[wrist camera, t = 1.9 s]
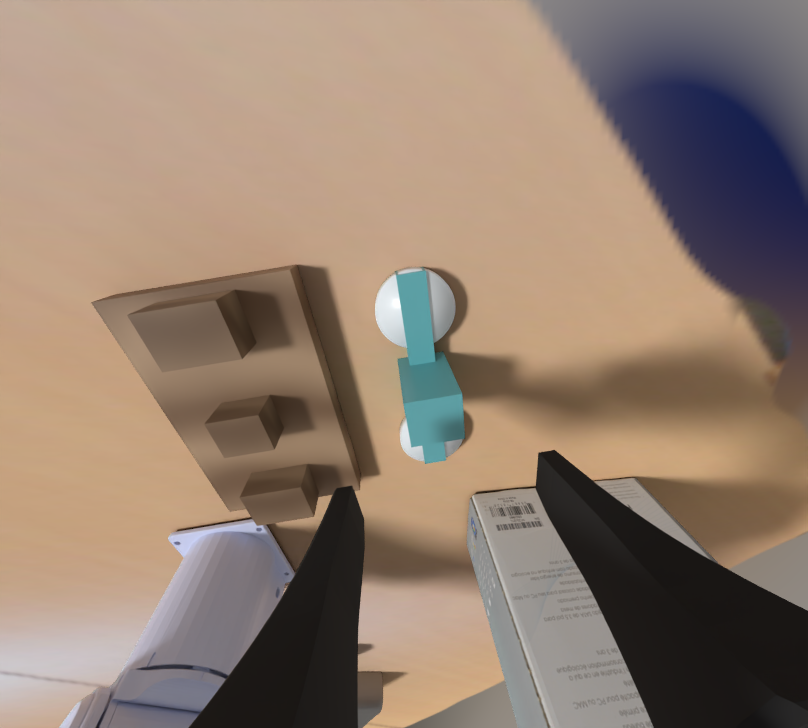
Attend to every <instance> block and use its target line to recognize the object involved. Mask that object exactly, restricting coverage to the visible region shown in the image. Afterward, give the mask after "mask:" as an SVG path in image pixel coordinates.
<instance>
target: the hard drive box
mask: <svg viewBox="0 0 808 728" xmlns="http://www.w3.org/2000/svg"><path fill="white" fill-rule="evenodd" d="M594 482H595V483H596V484H598V485H599V486H600V487H602V488H603V489H604V490H606V491H607V492H608V493H610V494H611V495H612V496H613V497H615V498H616V499H617V500H619V501H620V502H622V503H623V504H624V505H626V506H627V507H628V508H630V509H631V510H633V511H634V512H636V513H637V514H638V515H640V516H641V517H643V518H644V519H646V520H647V521H649V522H650V523H652V524H653V525H655V526H656V527H658V528H659V529H661V530H662V531H664V532H665V533H667V534H668V535H670V536H672V537H673V538H675V539H676V540H678V541H680V542H681V543H683V544H684V545H686V546H688V547H689V548H691V549H693V550H694V551H696V552H698V553H700V554H701V555H703V556H705V557H707V558H708V559H710V560H712V561H714V562H716V563H717V564H718V562H717V561H716V560H715V559H714V558H713V557H712V556H711V555H710V554H709V553H708V552H707V551H706V550H705V549H704V548H703V547H702V546H701V545H700V544H699V543H698V542H697V541H696V540H695V539H694V538H693V537H692V536H691V535H690V534H689V533H688V532H687V530H686V529H685V528H684V527H683V526H682V525H681V524H680V523H679V522H678V521H677V520H676V519H675V518H674V517H673V516H672V515H671V514H670V513H669V512H668V511H667V510H666V509H665V508H664V507H663V506H662V505H661V504H660V502H659V501H658V500H657V499H656V498H655V497H654V496H653V495H652V494H651V493H650V492H649V491H648V490H647V489H646V488H645V487H644V486H643V485H642V484H641V483H640V482H639V481H638V480H637V479H636V478H626V479H617V480H603V481H594ZM467 547H468V551H469V554H470V557H471V560H472V564H473V568H474V571H475V575H476V578H477V581H478V585H479V588H480V592H481V596H482V599H483V603H484V607H485V610H486V614H487V617H488V621H489V624H490V628H491V632H492V635H493V639H494V643H495V646H496V650H497V654H498V657H499V661H500V664H501V668H502V671H503V675H504V678H505V682H506V686H507V689H508V693H509V697H510V700H511V704H512V708H513V711H514V715H515V718H516V722H517V726H518V728H653V725H652V723H651V720H650V718H649V716H648V713H647V711H646V708H645V706H644V704H643V702H642V699H641V697H640V695H639V693H638V690H637V688H636V686H635V684H634V681H633V679H632V677H631V675H630V672H629V670H628V668H627V666H626V663H625V661H624V659H623V657H622V655H621V653H620V650H619V648H618V646H617V644H616V642H615V640H614V638H613V635H612V633H611V631H610V629H609V627H608V625H607V623H606V621H605V619H604V616H603V614H602V612H601V610H600V608H599V606H598V604H597V602H596V600H595V598H594V596H593V594H592V592H591V590H590V588H589V587H588V585H587V583H586V581H585V579H584V577H583V576H582V574H581V572H580V571H579V569H578V567H577V566H576V564H575V562H574V560H573V559H572V557H571V555H570V554H569V552H568V550H567V548H566V547H565V545H564V543H563V542H562V540H561V538H560V537H559V535H558V533H557V531H556V530H555V528H554V526H553V524H552V523H551V521H550V519H549V517H548V516H547V513H546V511H545V509H544V507H543V505H542V502H541V500H540V498H539V496H538V493H537V491H536V488H530V489H514V490H504V491H500V492H491V493H482V494H474V495H473V496H472V498H470V504H469V516H468V530H467Z"/></svg>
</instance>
